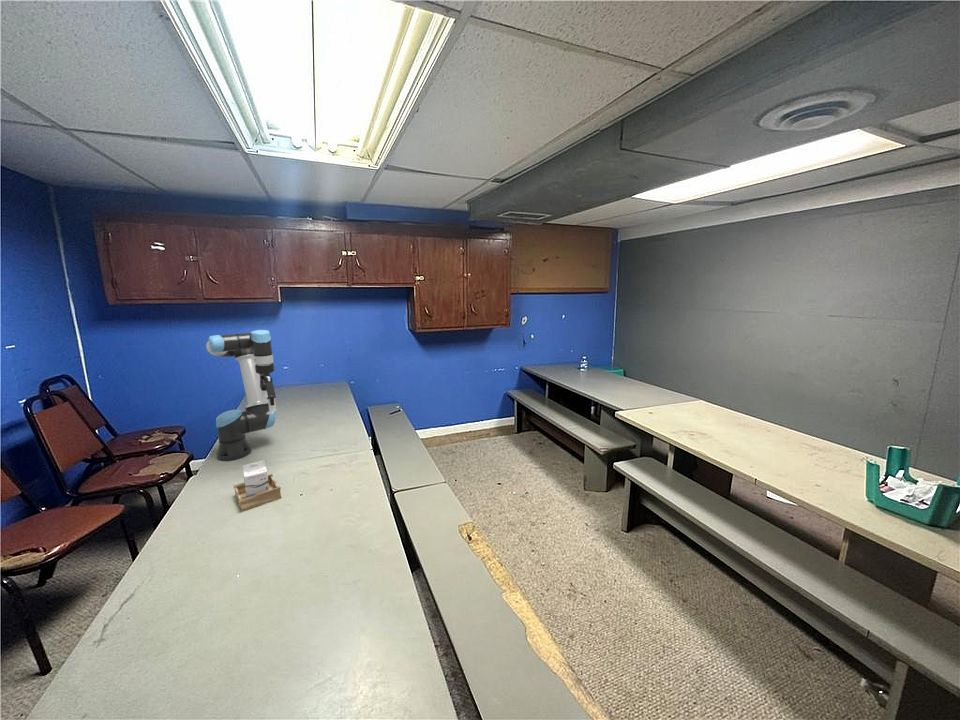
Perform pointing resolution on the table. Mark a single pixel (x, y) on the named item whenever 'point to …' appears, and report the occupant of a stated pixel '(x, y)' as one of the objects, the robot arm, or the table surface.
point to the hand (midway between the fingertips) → (269, 407)
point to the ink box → (255, 478)
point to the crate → (257, 495)
